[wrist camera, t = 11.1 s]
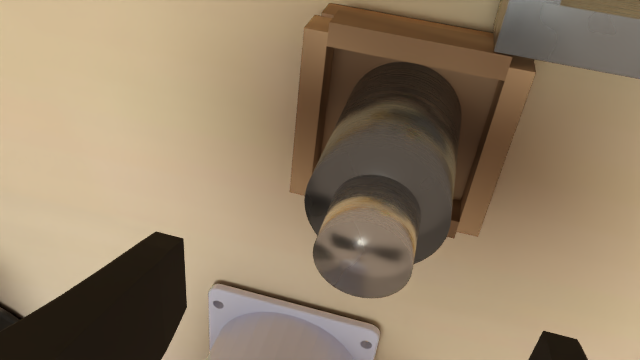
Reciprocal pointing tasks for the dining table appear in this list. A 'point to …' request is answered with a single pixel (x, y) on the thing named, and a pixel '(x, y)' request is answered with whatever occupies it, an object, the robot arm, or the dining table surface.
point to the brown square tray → (428, 50)
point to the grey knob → (385, 180)
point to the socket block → (572, 33)
